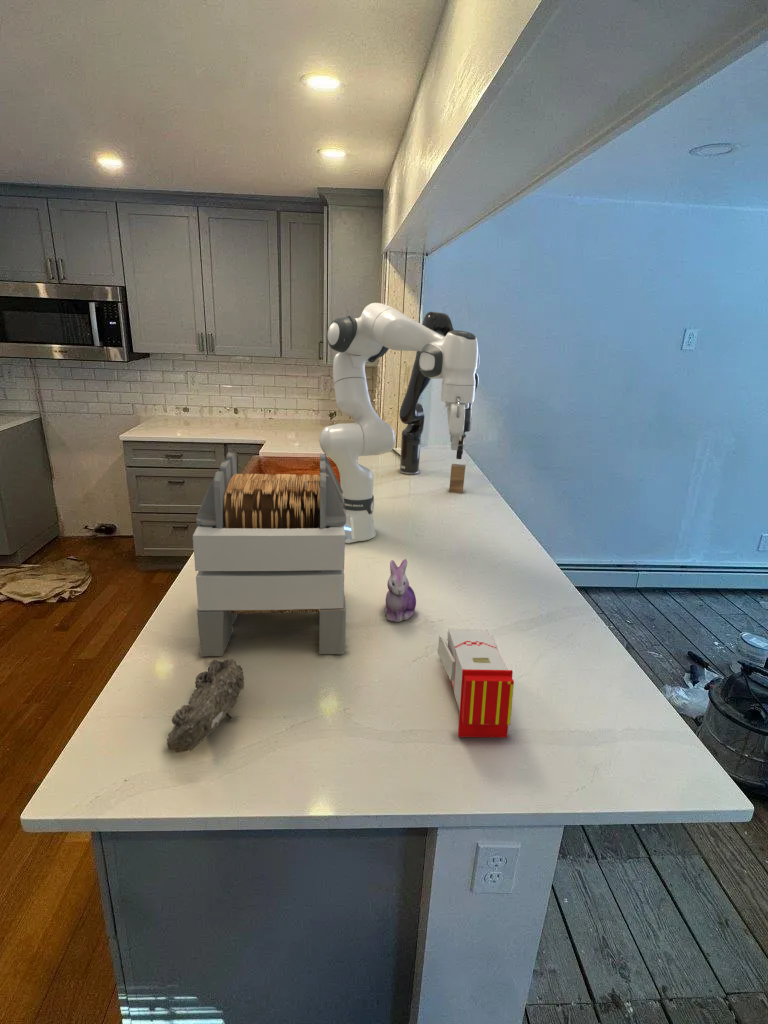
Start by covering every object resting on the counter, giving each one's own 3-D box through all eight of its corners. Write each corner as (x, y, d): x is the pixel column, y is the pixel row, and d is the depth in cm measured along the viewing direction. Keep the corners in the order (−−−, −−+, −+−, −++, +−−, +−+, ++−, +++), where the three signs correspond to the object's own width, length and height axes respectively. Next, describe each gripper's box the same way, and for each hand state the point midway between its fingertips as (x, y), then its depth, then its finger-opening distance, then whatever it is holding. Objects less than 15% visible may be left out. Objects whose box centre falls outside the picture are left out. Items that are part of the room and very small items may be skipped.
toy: (488, 613, 130) (523, 677, 101) (484, 667, 133) (517, 744, 104) (435, 612, 130) (455, 676, 101) (432, 666, 133) (451, 743, 103)
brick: (462, 493, 248) (465, 467, 244) (449, 492, 249) (451, 465, 244) (463, 490, 251) (465, 464, 247) (449, 489, 252) (452, 463, 248)
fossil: (192, 660, 117) (244, 628, 112) (224, 691, 120) (276, 661, 115) (142, 746, 98) (202, 712, 93) (182, 779, 101) (242, 748, 96)
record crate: (222, 587, 157) (213, 443, 143) (340, 586, 160) (343, 445, 147) (197, 659, 125) (183, 482, 111) (345, 655, 129) (349, 484, 115)
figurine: (392, 627, 141) (395, 572, 136) (374, 608, 149) (376, 556, 144) (425, 619, 145) (429, 566, 140) (405, 601, 154) (408, 550, 149)
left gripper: (471, 400, 141) (467, 455, 146) (467, 390, 160) (463, 438, 165) (446, 399, 142) (442, 453, 146) (445, 389, 161) (442, 437, 165)
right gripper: (470, 423, 232) (467, 461, 237) (472, 417, 245) (468, 453, 251) (452, 421, 233) (449, 459, 239) (454, 415, 246) (451, 452, 252)
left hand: (453, 445), depth 156 cm, fingers open, 8 cm apart
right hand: (459, 456), depth 245 cm, fingers open, 8 cm apart
